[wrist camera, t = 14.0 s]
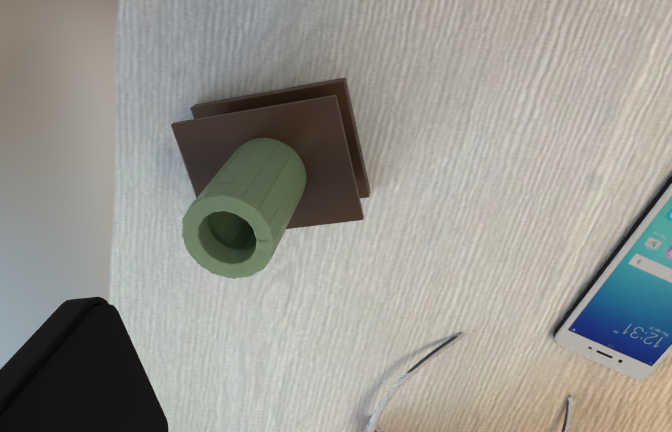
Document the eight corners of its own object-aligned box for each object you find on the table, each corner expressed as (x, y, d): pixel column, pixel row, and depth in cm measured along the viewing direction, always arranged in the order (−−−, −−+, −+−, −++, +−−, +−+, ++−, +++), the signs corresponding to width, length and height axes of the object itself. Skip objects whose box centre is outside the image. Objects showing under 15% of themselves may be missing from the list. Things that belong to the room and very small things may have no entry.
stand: (194, 104, 41) (170, 124, 38) (345, 77, 39) (335, 96, 35) (229, 210, 45) (210, 238, 41) (370, 192, 42) (363, 220, 39)
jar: (221, 143, 38) (168, 202, 31) (295, 131, 37) (258, 189, 30) (243, 213, 40) (198, 282, 33) (314, 204, 39) (284, 273, 32)
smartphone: (795, 217, 37) (643, 383, 45) (788, 211, 38) (640, 375, 45) (684, 167, 37) (549, 343, 44) (679, 162, 38) (548, 335, 45)
